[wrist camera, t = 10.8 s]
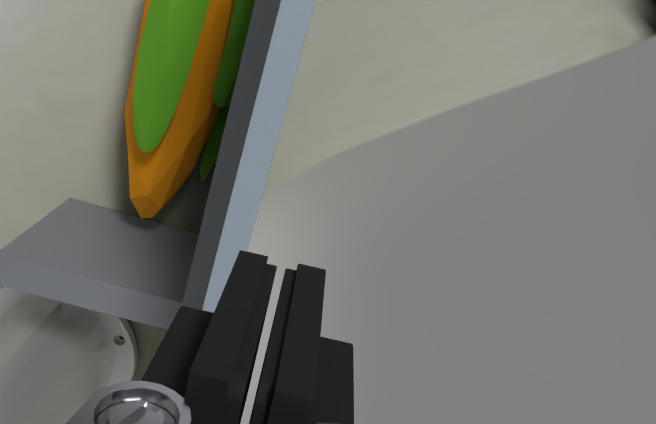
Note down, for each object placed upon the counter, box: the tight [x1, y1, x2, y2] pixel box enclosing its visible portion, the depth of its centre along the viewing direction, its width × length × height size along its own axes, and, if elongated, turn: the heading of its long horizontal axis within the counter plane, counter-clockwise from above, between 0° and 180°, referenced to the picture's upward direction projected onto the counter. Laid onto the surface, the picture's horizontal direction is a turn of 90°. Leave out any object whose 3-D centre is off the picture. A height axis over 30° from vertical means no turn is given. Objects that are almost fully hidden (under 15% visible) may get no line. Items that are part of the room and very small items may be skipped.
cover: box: [202, 0, 315, 313], centre depth 26 cm, size 31×12×1 cm
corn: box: [124, 0, 255, 218], centre depth 38 cm, size 7×8×20 cm
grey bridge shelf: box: [0, 0, 281, 330], centre depth 36 cm, size 31×12×10 cm, turn 164°
